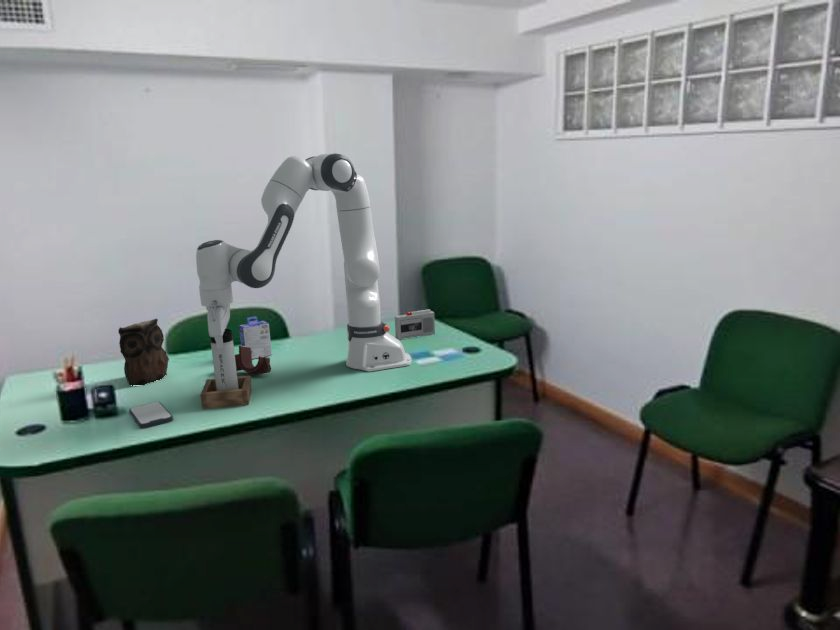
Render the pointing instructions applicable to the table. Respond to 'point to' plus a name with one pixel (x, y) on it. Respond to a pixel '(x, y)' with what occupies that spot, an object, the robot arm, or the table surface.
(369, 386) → the table surface
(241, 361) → the bracket
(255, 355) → the ink cartridge box
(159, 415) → the phone case
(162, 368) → the owl
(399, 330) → the cassette player
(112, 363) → the table surface
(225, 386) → the travel mug
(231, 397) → the wooden caddy
